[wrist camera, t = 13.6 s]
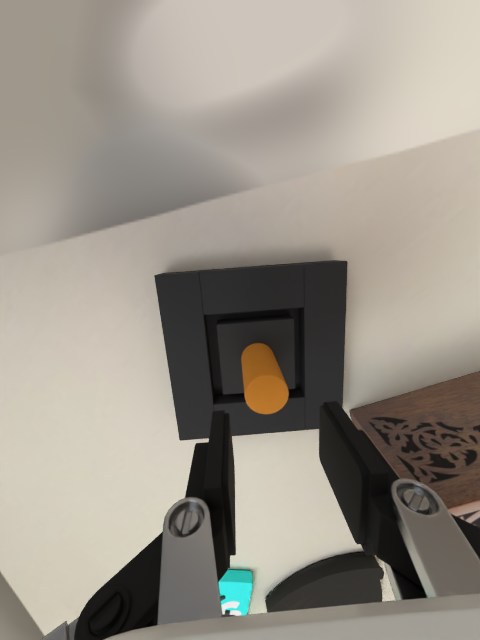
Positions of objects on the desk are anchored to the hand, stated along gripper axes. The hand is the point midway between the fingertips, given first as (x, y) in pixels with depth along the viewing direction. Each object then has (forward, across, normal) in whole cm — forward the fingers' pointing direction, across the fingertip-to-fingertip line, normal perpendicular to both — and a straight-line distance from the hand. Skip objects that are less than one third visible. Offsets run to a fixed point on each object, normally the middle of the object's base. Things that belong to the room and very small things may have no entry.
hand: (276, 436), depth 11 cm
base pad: (+11, 0, 0) cm, 11 cm away
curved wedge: (+12, -7, +30) cm, 33 cm away
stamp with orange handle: (+11, 0, 0) cm, 11 cm away
